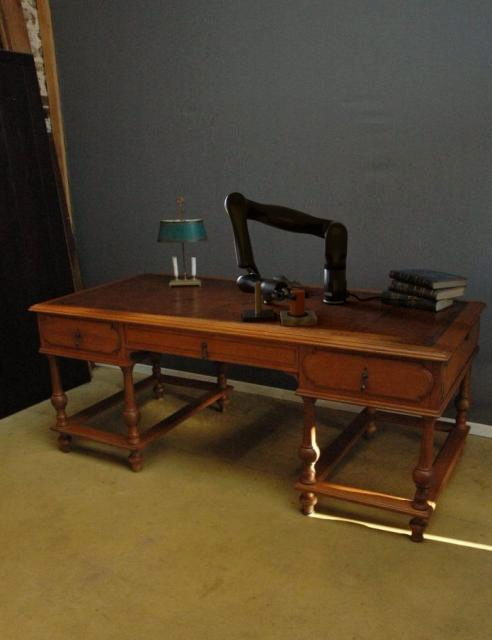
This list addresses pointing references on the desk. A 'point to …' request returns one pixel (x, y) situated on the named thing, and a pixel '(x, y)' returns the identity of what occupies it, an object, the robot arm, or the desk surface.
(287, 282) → the fossil
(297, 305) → the hat
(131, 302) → the desk surface
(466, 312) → the desk surface
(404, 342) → the desk surface
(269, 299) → the dark ridged round part
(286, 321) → the grey stone tile
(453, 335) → the desk surface
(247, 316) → the hat stand
